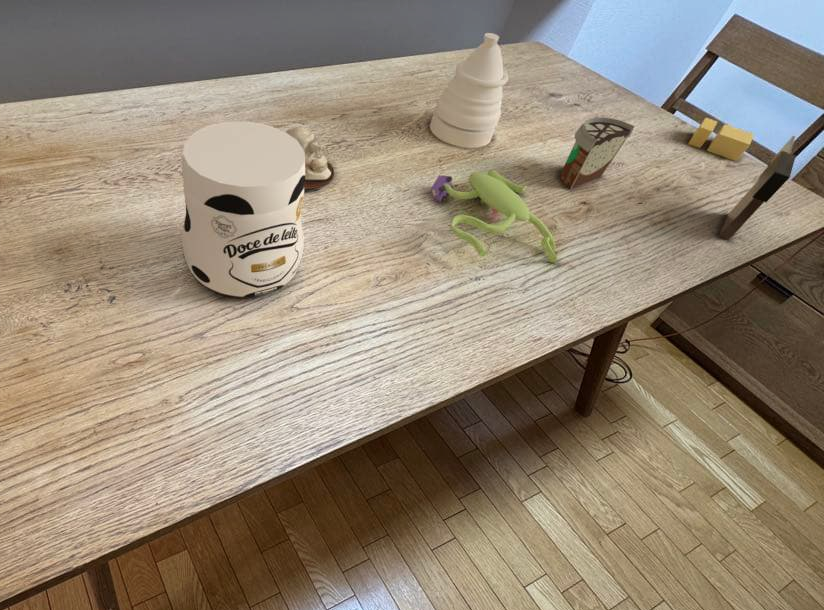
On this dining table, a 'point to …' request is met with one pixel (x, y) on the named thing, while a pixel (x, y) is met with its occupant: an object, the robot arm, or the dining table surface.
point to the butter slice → (703, 132)
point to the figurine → (493, 208)
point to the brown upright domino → (740, 214)
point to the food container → (594, 149)
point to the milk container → (243, 207)
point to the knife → (775, 173)
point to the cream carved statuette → (312, 158)
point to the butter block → (730, 142)
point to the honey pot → (472, 98)
